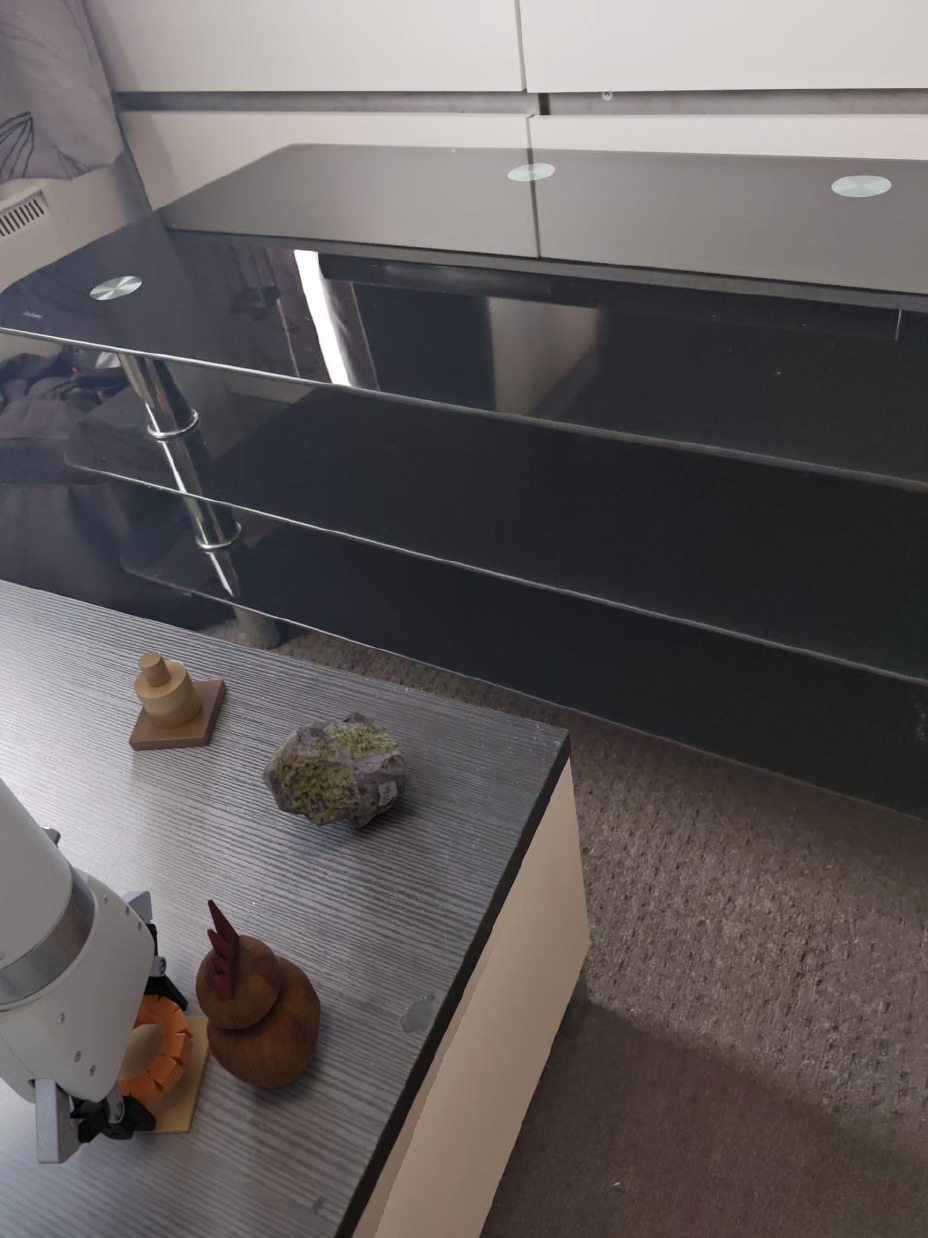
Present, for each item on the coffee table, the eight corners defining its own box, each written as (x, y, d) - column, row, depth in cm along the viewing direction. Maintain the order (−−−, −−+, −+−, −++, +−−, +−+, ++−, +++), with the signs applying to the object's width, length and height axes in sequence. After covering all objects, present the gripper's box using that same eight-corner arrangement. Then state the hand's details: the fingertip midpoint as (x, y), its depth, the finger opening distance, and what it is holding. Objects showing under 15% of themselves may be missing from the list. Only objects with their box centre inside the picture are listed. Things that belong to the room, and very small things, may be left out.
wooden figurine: (267, 990, 62) (189, 868, 52) (344, 1008, 60) (279, 886, 50) (221, 1092, 58) (126, 980, 48) (302, 1116, 56) (221, 1004, 46)
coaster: (189, 1132, 56) (187, 1130, 56) (83, 1133, 57) (80, 1130, 57) (217, 1018, 61) (215, 1016, 61) (119, 1021, 62) (116, 1018, 62)
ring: (74, 1112, 56) (64, 1103, 55) (109, 1004, 61) (100, 995, 60) (176, 1111, 55) (167, 1102, 54) (204, 1002, 60) (196, 992, 59)
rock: (373, 886, 67) (340, 805, 60) (269, 845, 71) (227, 765, 64) (441, 775, 73) (418, 691, 67) (342, 744, 78) (311, 661, 71)
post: (208, 746, 80) (176, 686, 75) (133, 750, 81) (96, 692, 76) (227, 687, 85) (199, 627, 80) (156, 692, 86) (124, 634, 81)
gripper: (16, 791, 54) (137, 940, 66) (-140, 1108, 41) (45, 1222, 53) (135, 783, 53) (236, 937, 65) (14, 1106, 40) (167, 1223, 52)
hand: (149, 1064), depth 59 cm, fingers closed on ring, 6 cm apart
